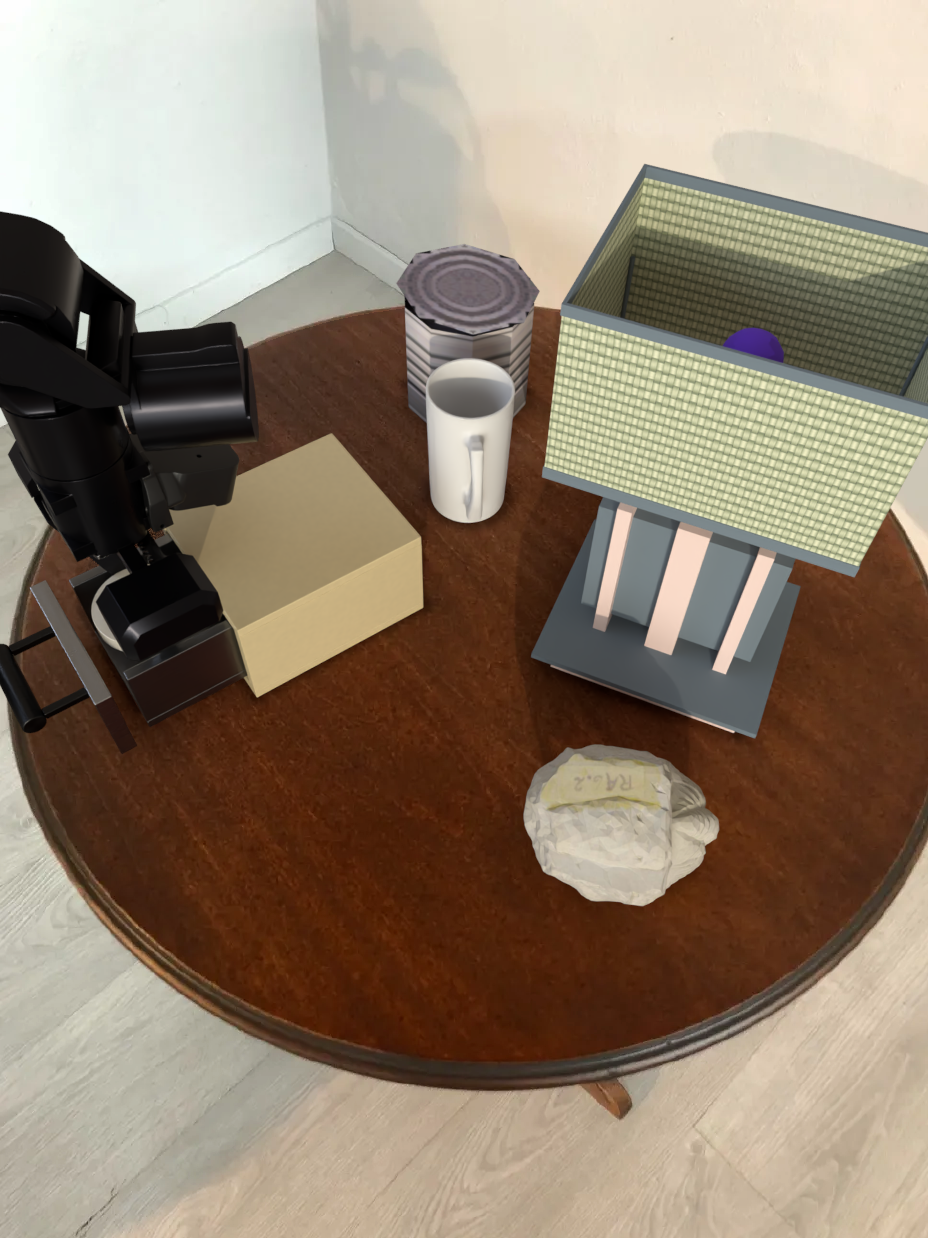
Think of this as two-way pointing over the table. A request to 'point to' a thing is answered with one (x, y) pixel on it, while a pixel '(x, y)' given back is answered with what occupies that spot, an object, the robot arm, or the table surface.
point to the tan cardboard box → (304, 560)
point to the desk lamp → (727, 430)
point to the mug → (469, 437)
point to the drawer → (123, 664)
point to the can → (466, 316)
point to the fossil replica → (617, 823)
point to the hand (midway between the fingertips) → (143, 607)
